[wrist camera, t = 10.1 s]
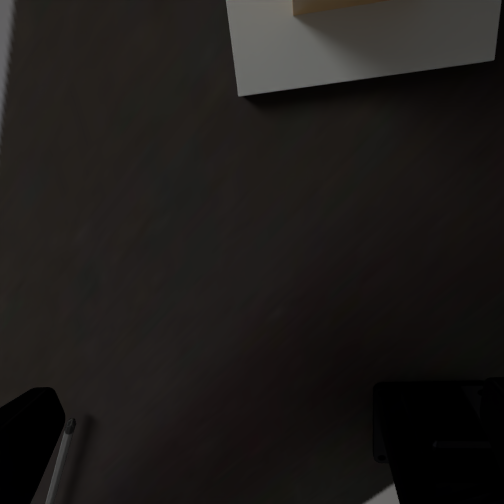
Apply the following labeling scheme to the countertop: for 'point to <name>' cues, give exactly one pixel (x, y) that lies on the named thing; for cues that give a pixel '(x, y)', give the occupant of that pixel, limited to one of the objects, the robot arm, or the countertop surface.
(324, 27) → the post plate
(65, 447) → the screwdriver
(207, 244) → the countertop surface
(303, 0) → the cardboard carton
